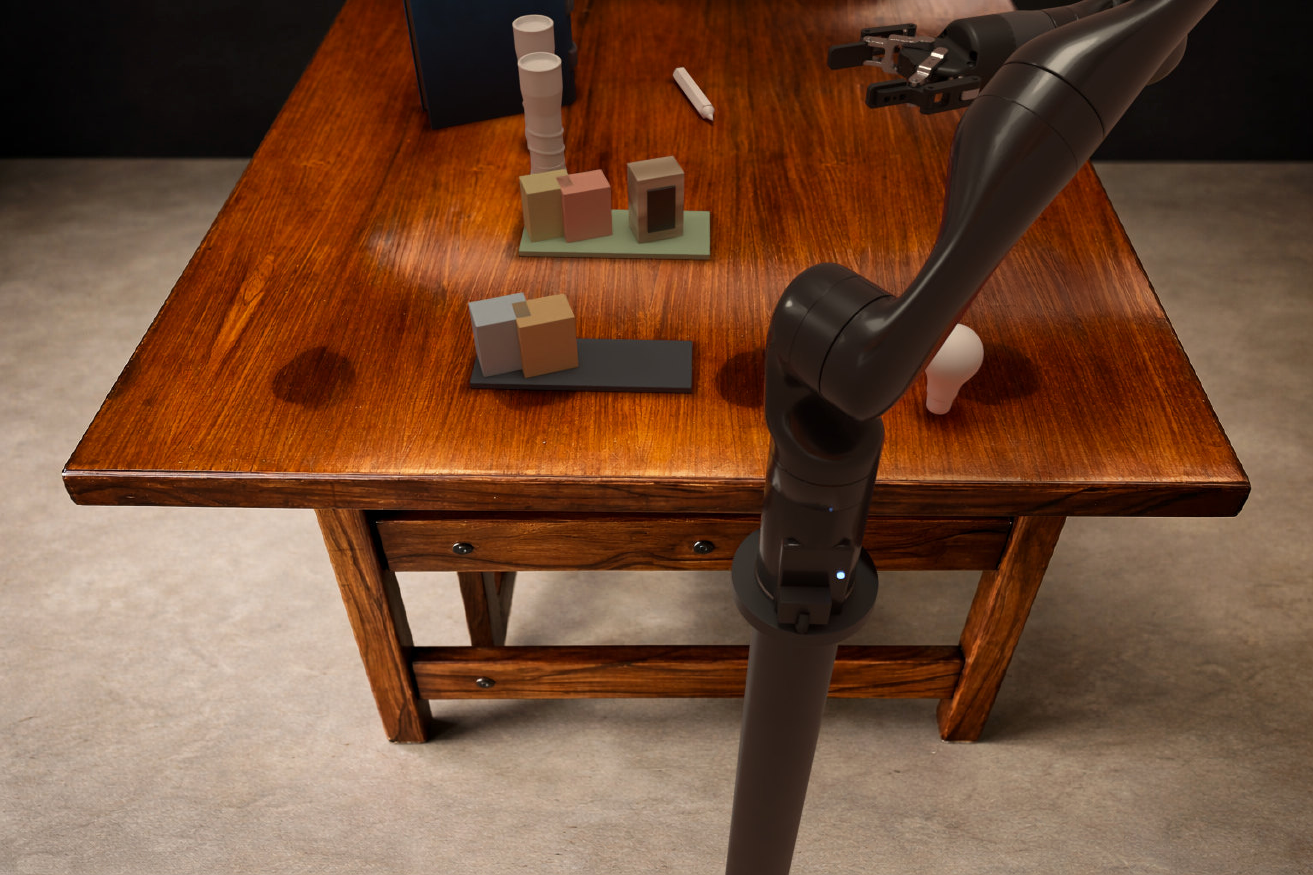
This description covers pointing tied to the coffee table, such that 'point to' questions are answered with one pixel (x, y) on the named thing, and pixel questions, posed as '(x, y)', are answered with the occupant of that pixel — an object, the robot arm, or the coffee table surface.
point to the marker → (694, 93)
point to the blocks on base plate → (567, 352)
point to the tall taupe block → (655, 199)
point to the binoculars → (540, 91)
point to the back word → (595, 222)
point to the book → (479, 56)
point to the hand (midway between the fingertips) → (847, 77)
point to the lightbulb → (952, 368)
